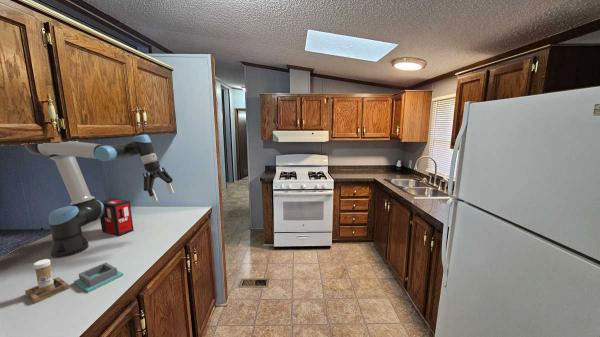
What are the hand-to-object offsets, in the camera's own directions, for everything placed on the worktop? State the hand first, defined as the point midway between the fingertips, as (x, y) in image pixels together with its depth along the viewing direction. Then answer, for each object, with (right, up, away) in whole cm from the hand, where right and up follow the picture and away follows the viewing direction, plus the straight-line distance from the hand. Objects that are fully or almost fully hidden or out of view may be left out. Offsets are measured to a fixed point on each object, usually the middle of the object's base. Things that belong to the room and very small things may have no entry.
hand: (164, 197), depth 140 cm
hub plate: (-10, -32, -33) cm, 47 cm away
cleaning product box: (-38, -24, +16) cm, 48 cm away
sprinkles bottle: (-25, -34, -41) cm, 59 cm away
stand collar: (-25, -34, -41) cm, 59 cm away
